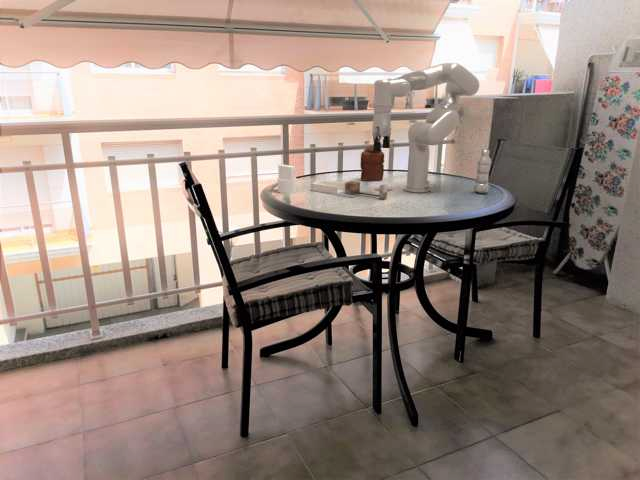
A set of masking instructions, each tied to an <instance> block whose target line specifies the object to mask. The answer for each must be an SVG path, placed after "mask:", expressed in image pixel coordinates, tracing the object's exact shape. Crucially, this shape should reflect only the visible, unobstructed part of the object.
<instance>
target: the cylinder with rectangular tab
mask: <svg viewBox="0 0 640 480" xmlns="http://www.w3.org/2000/svg"><path fill="white" fill-rule="evenodd" d="M296 172H297V169H296V166H293V165H289V164H279V165H278V178H277V193H279V192H280V194H285V193H286V194H294V193H297V191H298V178H297V176H296V174H297V173H296ZM286 194H285V195H286Z"/></svg>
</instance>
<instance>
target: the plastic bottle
mask: <svg viewBox="0 0 640 480" xmlns="http://www.w3.org/2000/svg"><path fill="white" fill-rule="evenodd" d="M490 152H491V151H490V149H481V152H480V156H479V157H478V158H477V161H476V169H477V170H476V178H475V182H474V185H473V191H474V192H475V193H477V192H478V193H477V194H486V193H488V191H489V173H490V169H491V166H492V158H491V157H490Z"/></svg>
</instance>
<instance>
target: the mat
mask: <svg viewBox="0 0 640 480" xmlns="http://www.w3.org/2000/svg"><path fill="white" fill-rule="evenodd" d="M360 192H361V193H366V192H365V191H361V190H360ZM360 195H361V194H355V195H352V194H346V193H345V191H344V192H341V193H338V194H335V196H340V197H347V198H355V197H357V196H360Z"/></svg>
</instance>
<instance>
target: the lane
mask: <svg viewBox="0 0 640 480" xmlns="http://www.w3.org/2000/svg"><path fill="white" fill-rule="evenodd" d="M310 190H311V191H312V192H319V193H325V194H330V195H336V194H338V193H341V192H344V191H345V182H341V181H334V180H333V181H332V180H327V179H321V180H318V181H314V182H311V183H310Z"/></svg>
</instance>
